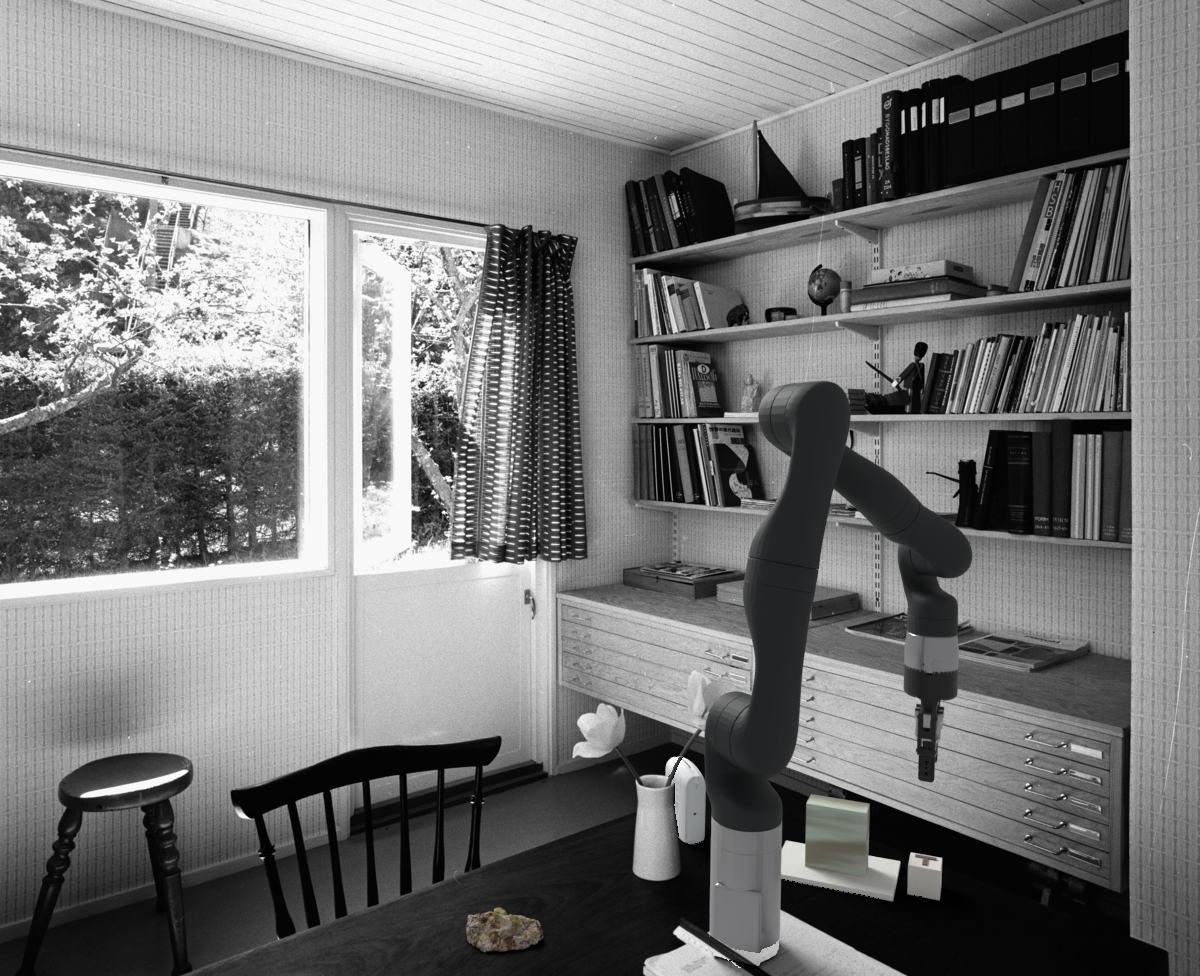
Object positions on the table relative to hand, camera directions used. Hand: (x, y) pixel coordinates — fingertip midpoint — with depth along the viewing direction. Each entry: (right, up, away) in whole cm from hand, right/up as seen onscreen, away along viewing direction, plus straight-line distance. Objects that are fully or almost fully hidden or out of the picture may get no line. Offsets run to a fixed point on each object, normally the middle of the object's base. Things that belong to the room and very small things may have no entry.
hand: (927, 771), depth 134 cm
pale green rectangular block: (-12, -17, +6) cm, 22 cm away
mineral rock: (-61, -19, -13) cm, 66 cm away
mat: (-12, -18, +6) cm, 22 cm away
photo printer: (-34, -17, +20) cm, 43 cm away
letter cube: (0, -18, +1) cm, 18 cm away
